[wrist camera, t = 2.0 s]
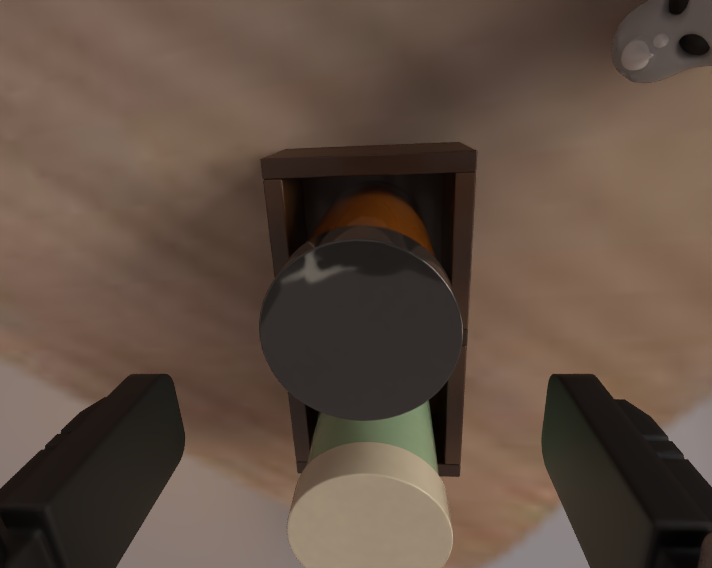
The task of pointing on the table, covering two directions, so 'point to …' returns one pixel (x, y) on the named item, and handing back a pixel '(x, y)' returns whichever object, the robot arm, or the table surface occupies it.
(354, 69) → the table surface
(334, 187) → the jar stand
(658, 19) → the chubby cartoon animal
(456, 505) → the table surface
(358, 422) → the green jar
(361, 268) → the amber jar
